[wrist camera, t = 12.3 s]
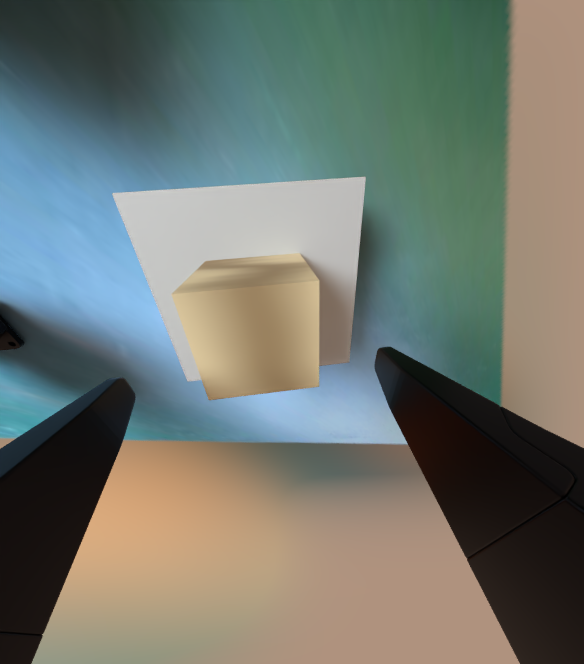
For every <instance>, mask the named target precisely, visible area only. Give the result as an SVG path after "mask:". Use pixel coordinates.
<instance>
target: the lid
mask: <svg viewBox="0 0 584 664" xmlns="http://www.w3.org/2000/svg"><path fill="white" fill-rule="evenodd" d="M365 179H366V177H355V178H340V179H324V180H309V181H293V182H278V183H263V184H247V185H232V186H216V187H201V188H185V189H170V190H154V191H139V192H124V193H112V195H113V197H114V200H115V202H116V205H117V207H118V210H119V212H120V215H121V217H122V220H123V222H124V224H125V227H126V229H127V232H128V234H129V237H130V239H131V242H132V244H133V247H134V249H135V252H136V254H137V257H138V259H139V262H140V264H141V267H142V269H143V272H144V274H145V277H146V279H147V282H148V284H149V287H150V289H151V292H152V294H153V297H154V299H155V302H156V304H157V307H158V309H159V311H160V314H161V316H162V319H163V321H164V324H165V326H166V329H167V331H168V334H169V336H170V339H171V341H172V344H173V346H174V349H175V351H176V354H177V356H178V359H179V361H180V364H181V366H182V369H183V371H184V374H185V376H186V379H187V381H188V382H189V381H197V380H202V379H201V376H200V374H199V371H198V368H197V365H196V362H195V360H194V357H193V354H192V351H191V348H190V346H189V343H188V340H187V337H186V334H185V331H184V329H183V326H182V323H181V320H180V317H179V315H178V312H177V309H176V306H175V303H174V301H173V298H172V295H171V294H172V293H173V292H174V291H175V290H176V289H177V288H178V287H179V286H180V285H181V284H182V283H183V282H184V281H185V280H187V279H188V278H189V277H190V276H191V275H192V274H193V273H194V272H195V271H196V270H197V269H198V268H199V267H200V266H201V265H202V264H203V263H204V262H205V261H211V260H223V259H235V258H247V257H259V256H271V255H283V254H294V253H300V254H301V256H302V257H303V259H304V260H305V261H306V263H307V264H308V265H309V267H310V268H311V270H312V271H313V272H314V274H315V275H316V276H317V278H318V279H319V366H323V365H331V364H340V363H348V362H349V359H350V347H351V336H352V325H353V314H354V302H355V291H356V280H357V269H358V257H359V246H360V235H361V224H362V212H363V201H364V190H365Z"/></svg>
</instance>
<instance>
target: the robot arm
mask: <svg viewBox="0 0 584 664" xmlns="http://www.w3.org/2000/svg"><path fill="white" fill-rule="evenodd" d="M23 345H24V342H23V340H22V339H21V338H20V337H19V336H18V335H17V334H16V333H15V332H14V331H13V329H12V328H11V327H10V326H9V325H8V324H7V323H6V322H5V321H4V320H3V319H2V317H1V316H0V350H9V349H17V348H20V347H21V346H23ZM375 371H376V374H377V376H378V379H379V382H380V384H381V387H382V390H383V392H384V395H385V398H386V400H387V403H388V405H389V408H390V410H391V412H392V414H393V416H394V418H395V420H396V422H397V424H398V425H399V427H400V429H401V431H402V433H403V435H404V437H405V439H406V441H407V443H408V445H409V447H410V449H411V451H412V453H413V455H414V457H415V459H416V461H417V463H418V465H419V467H420V468H421V470H422V472H423V474H424V476H425V478H426V480H427V482H428V484H429V486H430V488H431V490H432V492H433V494H434V496H435V498H436V500H437V502H438V504H439V505H440V508H441V510H442V512H443V513H444V515H445V517H446V519H447V521H448V523H449V525H450V527H451V529H452V531H453V533H454V535H455V537H456V539H457V541H458V543H459V545H460V547H461V549H462V551H463V552H464V555H465V556H466V558H467V561H468V563H469V565H470V567H471V569H472V571H473V573H474V575H475V577H476V579H477V580H478V582H479V584H480V586H481V588H482V590H483V592H484V594H485V596H486V598H487V600H488V602H489V604H490V606H491V608H492V610H493V612H494V614H495V615H496V618H497V620H498V622H499V623H500V625H501V627H502V629H503V631H504V633H505V635H506V637H507V639H508V641H509V643H510V645H511V647H512V649H513V651H514V653H515V655H516V657H517V659H518V661H519V662H520V664H584V448H582V447H580V446H578V445H576V444H574V443H572V442H570V441H567V440H566V439H564V438H561V437H560V436H558V435H555V434H553V433H551V432H549V431H547V430H545V429H543V428H541V427H539V426H538V425H536V424H534V423H532V422H530V421H528V420H526V419H524V418H522V417H520V416H518V415H516V414H515V413H513V412H511V411H509V410H507V409H505V408H504V407H500V406H499V405H498V404H496V403H494V402H492V401H490V400H488V399H487V398H485V397H483V396H481V395H479V394H477V393H475V392H474V391H472V390H470V389H468V388H466V387H464V386H462V385H461V384H459V383H457V382H455V381H453V380H451V379H449V378H448V377H446V376H444V375H442V374H440V373H438V372H436V371H435V370H433V369H431V368H429V367H427V366H425V365H423V364H422V363H420V362H418V361H416V360H414V359H412V358H410V357H409V356H407V355H405V354H403V353H401V352H399V351H397V350H395V349H394V348H392V347H382V348H379V349H378V351H377V355H376V360H375ZM134 403H135V393H134V391H133V389H132V388H131V387H130V385H129V384H128V382H127V381H126V379H124V378H121V377H119V378H111V379H108V380H106V381H105V382H103V383H102V384H100V385H98V386H97V387H95V388H94V389H92V390H91V391H89V392H88V393H86V394H84V395H83V396H81V397H80V398H78V399H77V400H75V401H74V402H72V403H71V404H69V405H67V406H66V407H64V408H63V409H61V410H60V411H58V412H57V413H55V414H54V415H52V416H50V417H49V418H47V419H46V420H44V421H43V422H41V423H40V424H38V425H37V426H35V427H33V428H32V429H30V430H29V431H27V432H26V433H24V434H23V435H21V436H20V437H18V438H16V439H15V440H13V441H12V442H10V443H9V444H7V445H6V446H4V447H3V448H1V449H0V664H31V663H32V661H33V658H34V656H35V653H36V651H37V649H38V646H39V644H40V641H41V639H42V636H43V635H42V634H43V633H44V631H45V629H46V626H47V624H48V621H49V619H50V616H51V614H52V612H53V609H54V607H55V604H56V602H57V600H58V597H59V595H60V592H61V590H62V588H63V585H64V583H65V580H66V578H67V575H68V573H69V571H70V568H71V566H72V563H73V561H74V559H75V556H76V554H77V551H78V549H79V546H80V544H81V542H82V539H83V537H84V534H85V532H86V530H87V527H88V525H89V522H90V520H91V518H92V515H93V513H94V510H95V508H96V505H97V503H98V501H99V498H100V496H101V493H102V491H103V489H104V486H105V484H106V481H107V479H108V476H109V474H110V472H111V469H112V466H113V464H114V462H115V460H116V457H117V455H118V452H119V450H120V447H121V444H122V442H123V439H124V436H125V433H126V429H127V426H128V423H129V419H130V416H131V413H132V409H133V406H134Z"/></svg>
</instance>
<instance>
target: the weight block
mask: <svg viewBox="0 0 584 664" xmlns="http://www.w3.org/2000/svg"><path fill="white" fill-rule="evenodd" d="M171 295H172V298H173V301H174V303H175V306H176V309H177V312H178V315H179V317H180V320H181V323H182V326H183V329H184V331H185V334H186V337H187V340H188V343H189V346H190V348H191V351H192V354H193V357H194V360H195V362H196V365H197V368H198V371H199V374H200V376H201V379H202V382H203V385H204V388H205V391H206V393H207V396H208V399H209V400H215V399H223V398H231V397H239V396H247V395H255V394H263V393H271V392H279V391H287V390H295V389H303V388H312V387H319V279H318V278H317V276H316V275H315V274H314V272H313V271H312V270H311V268H310V267H309V265H308V264H307V263H306V261H305V260H304V259H303V257H302V256H301V254H300V253H294V254H283V255H271V256H259V257H247V258H235V259H223V260H211V261H205V262H204V263H203V264H202V265H201V266H200V267H199V268H198V269H197V270H196V271H195V272H194V273H193V274H192V275H191V276H190V277H189V278H188V279H187V280H185V281H184V282H183V283H182V284H181V285H180V286H179V287H178V288H177V289H176V290H175V291H174V292H173V293H172V294H171Z"/></svg>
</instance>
